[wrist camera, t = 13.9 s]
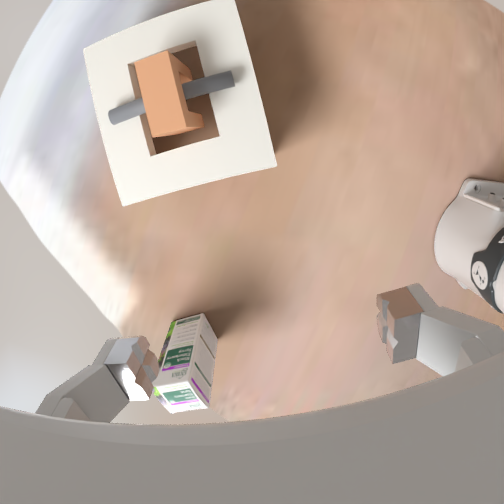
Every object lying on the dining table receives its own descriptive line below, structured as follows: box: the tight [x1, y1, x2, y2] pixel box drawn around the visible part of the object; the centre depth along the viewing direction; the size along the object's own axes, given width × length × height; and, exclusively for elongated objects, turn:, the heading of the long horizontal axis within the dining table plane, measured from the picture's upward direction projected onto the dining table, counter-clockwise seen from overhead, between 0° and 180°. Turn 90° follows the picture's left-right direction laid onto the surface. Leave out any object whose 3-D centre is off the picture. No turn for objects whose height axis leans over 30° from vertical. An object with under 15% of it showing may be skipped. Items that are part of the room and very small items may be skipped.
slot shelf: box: [83, 0, 277, 206], centre depth 30 cm, size 16×18×12 cm
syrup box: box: [152, 313, 218, 414], centre depth 41 cm, size 6×6×14 cm
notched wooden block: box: [134, 50, 205, 138], centre depth 27 cm, size 3×7×10 cm, turn 13°
